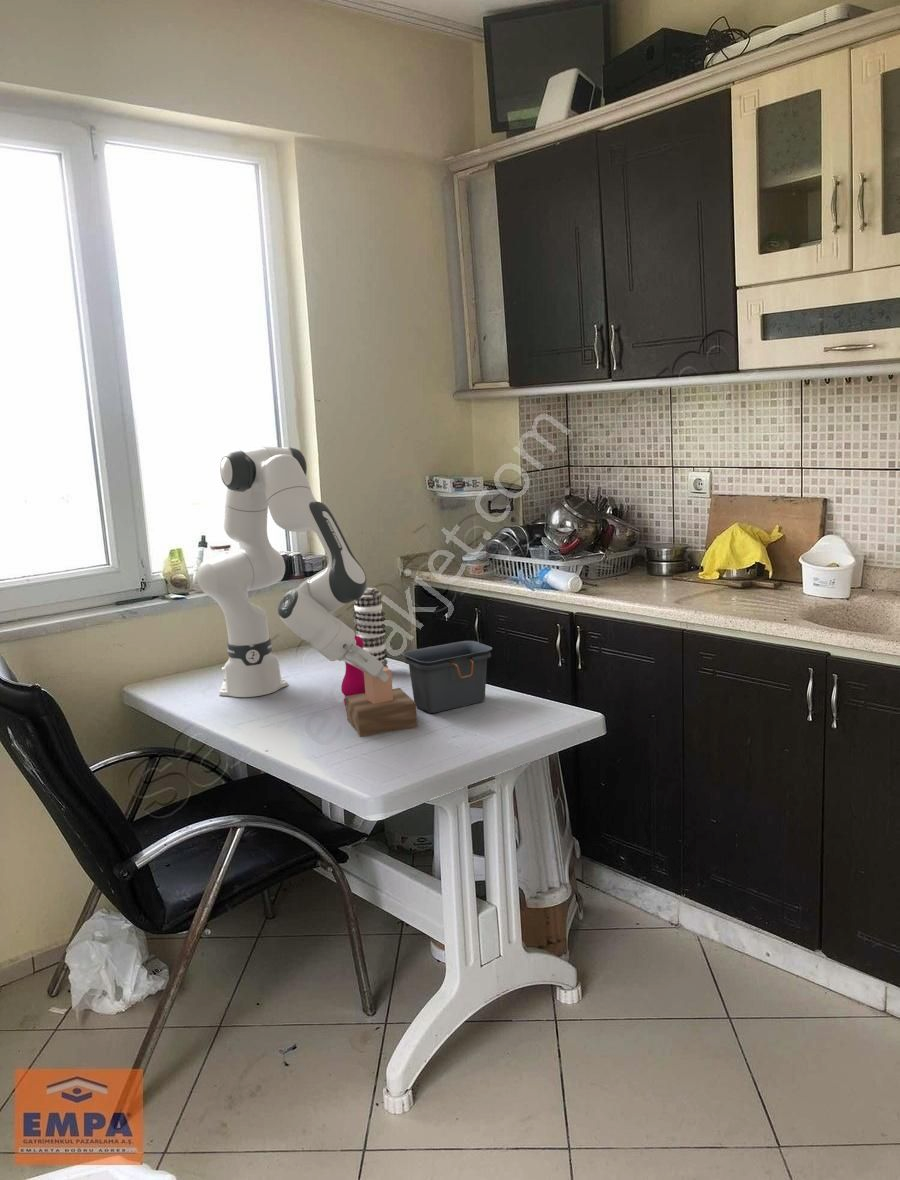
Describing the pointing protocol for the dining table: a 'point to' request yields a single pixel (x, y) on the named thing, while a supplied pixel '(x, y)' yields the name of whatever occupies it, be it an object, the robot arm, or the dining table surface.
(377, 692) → the terracotta block
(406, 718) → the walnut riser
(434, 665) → the storage bin
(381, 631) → the decorative candle
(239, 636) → the robot arm
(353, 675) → the pepper mill
